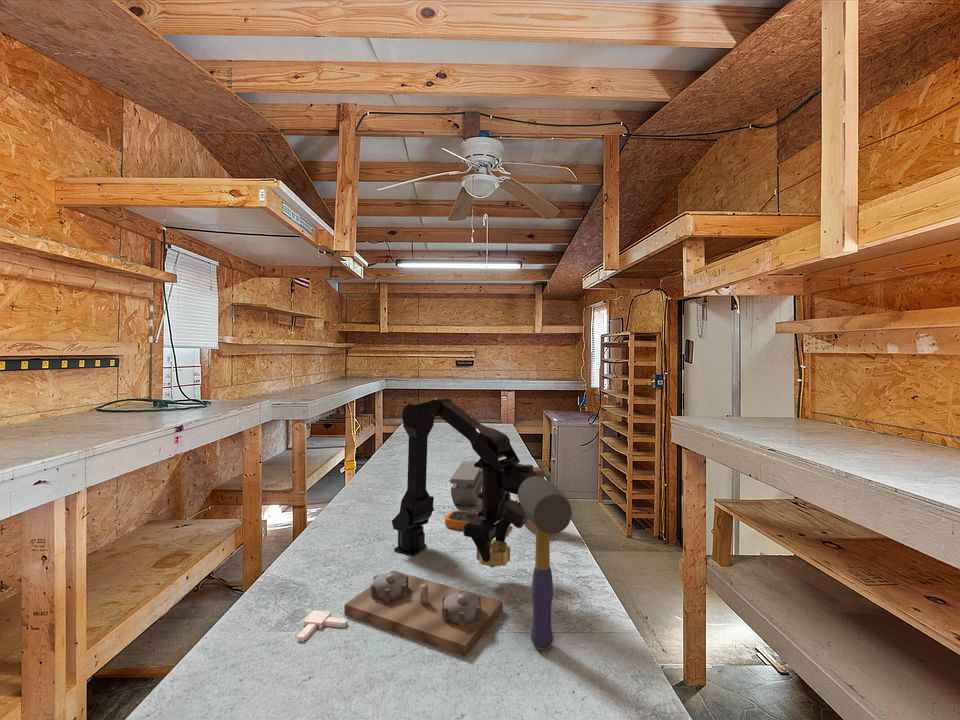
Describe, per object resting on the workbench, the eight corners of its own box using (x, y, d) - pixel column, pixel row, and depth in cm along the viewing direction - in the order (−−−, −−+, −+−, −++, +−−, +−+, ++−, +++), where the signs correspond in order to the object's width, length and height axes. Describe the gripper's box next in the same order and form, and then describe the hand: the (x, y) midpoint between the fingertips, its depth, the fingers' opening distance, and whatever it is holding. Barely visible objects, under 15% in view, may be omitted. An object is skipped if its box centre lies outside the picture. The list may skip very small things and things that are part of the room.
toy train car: (473, 512, 151) (473, 479, 151) (450, 511, 152) (450, 478, 152) (482, 489, 176) (483, 461, 175) (462, 488, 177) (463, 460, 177)
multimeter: (451, 519, 146) (452, 508, 146) (506, 525, 141) (507, 514, 141) (442, 529, 138) (442, 518, 137) (500, 536, 133) (500, 524, 132)
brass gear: (471, 562, 104) (471, 549, 104) (486, 549, 111) (486, 537, 111) (501, 569, 101) (501, 556, 101) (514, 556, 108) (514, 543, 107)
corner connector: (331, 648, 83) (330, 639, 83) (290, 643, 84) (290, 634, 84) (350, 622, 91) (350, 614, 91) (313, 618, 92) (313, 610, 92)
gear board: (344, 613, 93) (344, 587, 92) (393, 578, 107) (393, 555, 107) (464, 657, 80) (465, 626, 80) (502, 610, 94) (502, 584, 94)
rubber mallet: (514, 627, 88) (515, 473, 88) (551, 624, 89) (552, 472, 89) (530, 672, 76) (532, 494, 75) (573, 668, 77) (575, 492, 77)
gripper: (509, 506, 94) (509, 581, 94) (540, 482, 110) (539, 546, 111) (462, 497, 99) (462, 569, 99) (498, 476, 115) (498, 537, 116)
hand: (493, 555), depth 106 cm, fingers closed on brass gear, 7 cm apart
